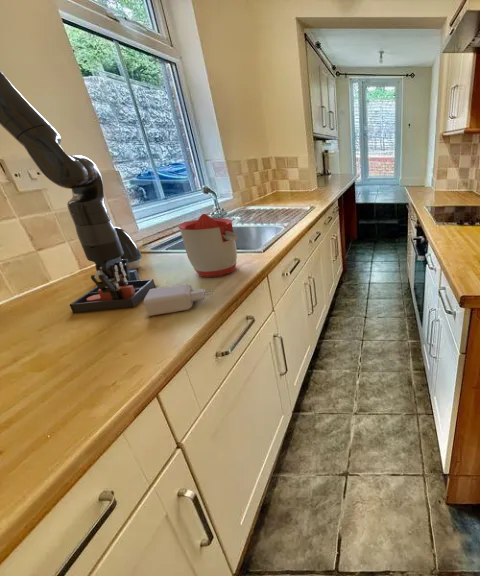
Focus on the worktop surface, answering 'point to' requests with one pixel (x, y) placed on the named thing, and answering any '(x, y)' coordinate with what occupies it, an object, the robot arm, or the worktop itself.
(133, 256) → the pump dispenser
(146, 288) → the cutlery tray
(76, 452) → the worktop surface
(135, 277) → the slate-blue spoon
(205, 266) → the citrus juicer
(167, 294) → the charger
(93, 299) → the terracotta spoon
